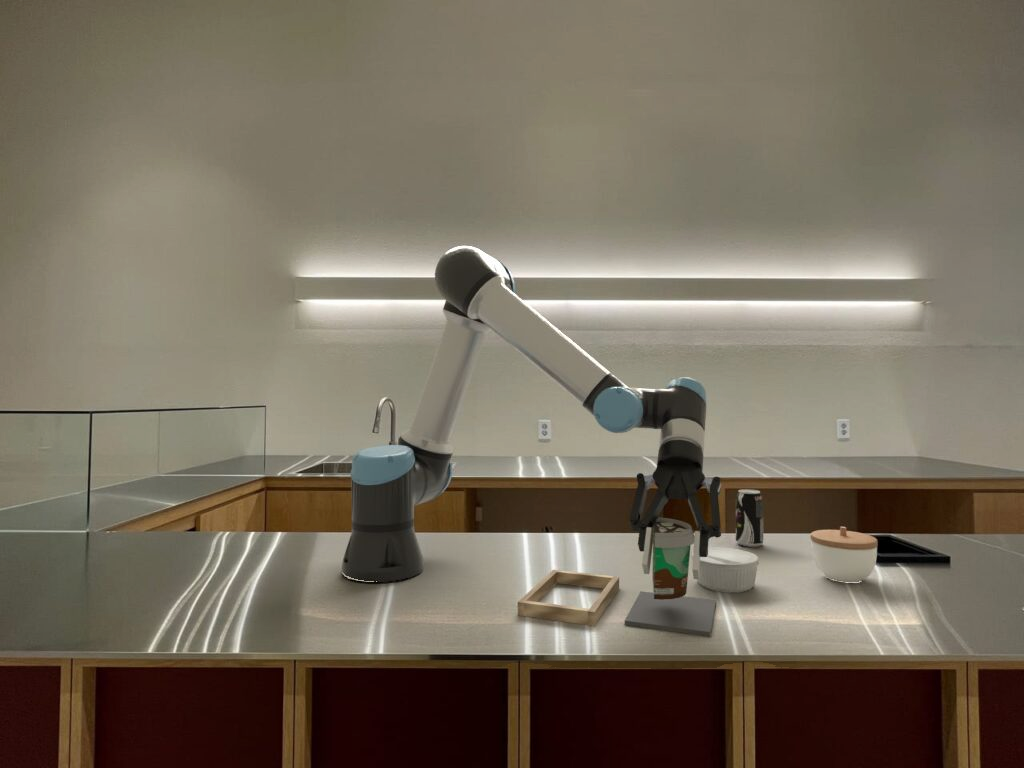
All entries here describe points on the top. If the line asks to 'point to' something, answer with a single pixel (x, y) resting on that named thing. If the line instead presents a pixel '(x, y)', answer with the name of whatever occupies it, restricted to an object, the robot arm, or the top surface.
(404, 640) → the top surface
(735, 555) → the ramekin
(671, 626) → the charcoal mat
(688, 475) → the robot arm
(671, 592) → the food container
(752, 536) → the beverage can
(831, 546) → the lidded jar
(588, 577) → the oak frame
